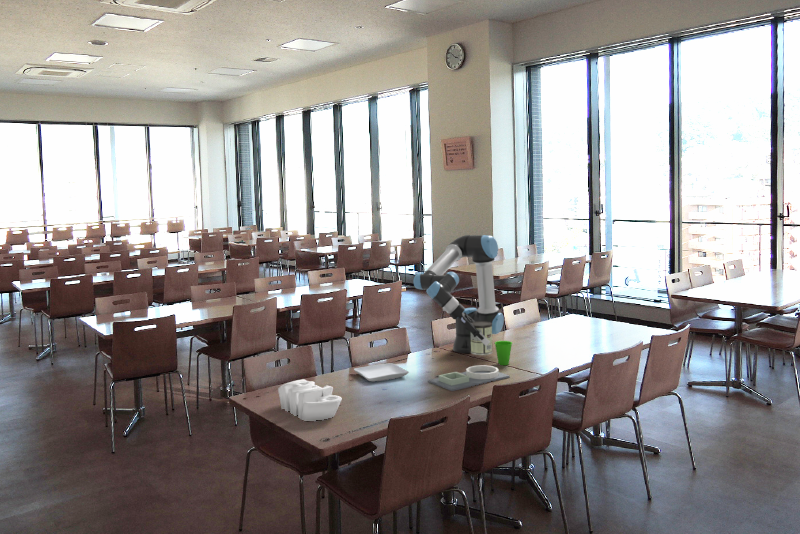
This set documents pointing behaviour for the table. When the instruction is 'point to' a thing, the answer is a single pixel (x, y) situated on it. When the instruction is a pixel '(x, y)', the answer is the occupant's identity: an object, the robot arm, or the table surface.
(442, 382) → the sorting board
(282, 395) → the wavy white extrusion
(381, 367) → the salad plate
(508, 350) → the cup
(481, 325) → the coffee can
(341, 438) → the table surface
